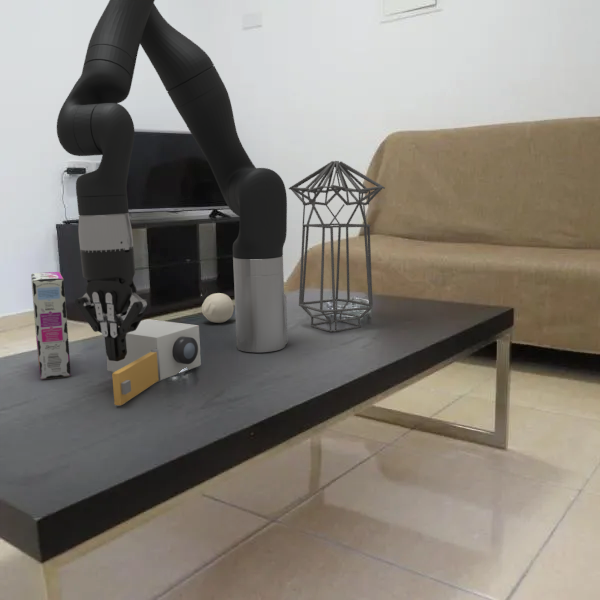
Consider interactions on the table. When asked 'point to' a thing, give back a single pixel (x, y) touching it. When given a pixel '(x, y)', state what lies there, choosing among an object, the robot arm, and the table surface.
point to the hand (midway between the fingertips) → (117, 359)
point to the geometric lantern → (328, 172)
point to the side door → (136, 377)
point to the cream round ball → (218, 308)
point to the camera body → (162, 346)
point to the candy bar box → (51, 325)
